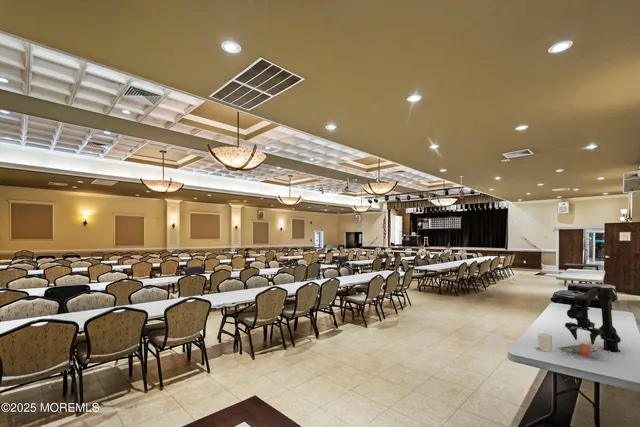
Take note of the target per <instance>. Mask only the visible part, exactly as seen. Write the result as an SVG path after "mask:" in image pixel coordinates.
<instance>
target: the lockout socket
mask: <svg viewBox="0 0 640 427" xmlns="http://www.w3.org/2000/svg"><path fill="white" fill-rule="evenodd" d="M569 349H570V350H569ZM558 350H561V351H564V352H567V353H570V354H576V353H580V349H577V348H573V347H570V345H567V346H559V347H558Z"/></svg>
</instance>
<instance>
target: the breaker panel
mask: <svg viewBox="0 0 640 427" xmlns="http://www.w3.org/2000/svg"><path fill="white" fill-rule="evenodd" d="M580 344H581V343H580ZM580 344H579V343H578V344H576V343H575V344H570V345H569V346H570V347H573V348H577V349H580ZM598 351H599V349H597V348H592V349H591V348H589V353H591V352H593V353H594V352H598Z"/></svg>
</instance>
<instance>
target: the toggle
mask: <svg viewBox="0 0 640 427" xmlns="http://www.w3.org/2000/svg"><path fill="white" fill-rule="evenodd" d="M586 343H589V348H591V349H592V348H595V347H596V346H595V342H594V344H593V345H592V344H591V340H590V341H586ZM595 349H596V348H595Z"/></svg>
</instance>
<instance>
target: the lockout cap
mask: <svg viewBox="0 0 640 427" xmlns="http://www.w3.org/2000/svg"><path fill="white" fill-rule="evenodd" d="M579 355H580V356H581V357H584V358H591V355H590V352H589V346H588V345H585V344H581V343H580V352H579Z"/></svg>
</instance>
